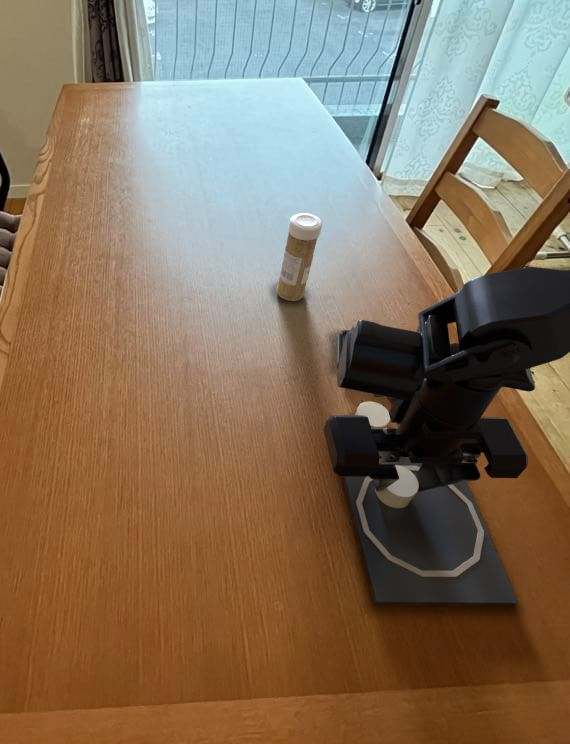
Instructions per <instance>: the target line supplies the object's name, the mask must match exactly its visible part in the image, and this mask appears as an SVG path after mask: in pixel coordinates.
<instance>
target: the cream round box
mask: <svg viewBox="0 0 570 744" xmlns="http://www.w3.org/2000/svg"><path fill="white" fill-rule="evenodd" d="M354 415H363V416H366V417H368V419H369V423H370V426H371V429H383V430H385V429H386V428H388V425H389V424H390V422H391V419H390V416H389V410H388V409H387V408H386V407H385V406H384V405H382V404H381V403H378V402H376V401H363V402H362V403H360V404H359V405H358V407H357V408H356V411H355V413H354Z"/></svg>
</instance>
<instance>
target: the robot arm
mask: <svg viewBox="0 0 570 744" xmlns="http://www.w3.org/2000/svg"><path fill="white" fill-rule="evenodd" d="M417 320H418V327H417V328H416V331H415V330H410V329H409V330H408V329H404V328H398V327H393V326H388V325H383V324H380V323H378V322H375V321H372V320H371V321H370V320H366V319H359V320H358V321H357V322H356V325H355V326H352V327H351V329H349V331H350V332H347V334H346V337H345V340H344V344H343V347H342V351H341V356H340V361H339V367H338V369H337V376H336V385H337V387H338V388H340V389H344V390H345V389H346V390H350V391H355V392H360V393H365V394H369V395H372V396H373V397H374V398H385V399H387V401H388V402H389V403H390V405H391V407H390V409H389V410H388V412H389V416H390V422H391V423H396V425H397V427H396V428H394V427H391V428H390V427H386V429H385V430H383V429H371V426H370V423H369V419H368V417H366V416H363V415H355V414H354V415H353V414H347V415H346V414H331V415H330V416H329V417H328V418H327V419H326V421H325V424H324V426H323V428H322V431H323V434H324V439H325V444H326V447H327V451H328V456H329V460H330V464H331V469H332V472H333V473H334V474H336V475H337V476H339V477H342V476H346V477H366V476H369V477H370V478H371V479H373V480H374V485H375V489H376V491H377V492H380V491H382V490H384V489H386V488H387V487H389V486H390V485H391V484H393V483H394V482H396V481H397V480H398V479H399V475H398V472H397V469H396V466H395V465H396V464H397V463H398V462H399V459H410V462H411V463H423V464H422V465H421V467H420V469H419V470H418V472H417V474H416V478H417V480H418V483H419V489H418V491H417V492H421V491H425V490H429V489H433V488H437V487H442V486H446V485H451V484H456V483H461V482H466V481H467V482H472V481H473V482H476V481H478V480H480V478H481V473H480V471H479V468H478V466H477V464H478V462H479V461H478V459H479V458H480V457H481V456H482V454H484V457H485V459H486V461H487V464H486V466H485V467H484V471H485V473H486V474H487V476H489V478H490V479H518V478H519V477H520V476H521V475H522V473H523V472H524V471H525V470H526V469H527V467H528V465H529V456H528V454H527V451H526V450H525V448H524V446H523V444H522V443H521V440H520V439H519V437H518V435H517V433H516V431H515V429H514V427H513V426H512V424H511V423H510V421H509V420H508V418H505V417H501V416H483V415H484V413H485V412H486V411H487V409H488V408H489V406H490V405H491V403H492V402H493V401H494V399H495V398H496V396H497V395H498V394H499V392H500V391H501V389H502V388H507V389H512V390H513V389H514V390H519V391H524V392H533V391H534V390H535V389H536V385H535V381H534V377H533V374H532V373H533V372H532V368H535V367H536V368H537V367H539V366H542V365H545V364H548V363H551V362H555V361H558V360H561V359H563V358H564V357H565V356H567V355H568V354H569V353H570V269H566V270H565V269H555V268H548V267H547V268H544V267H538V266H537V267H536V266H528V267H527V266H526V267H521V268H515V269H509V270H503V271H497V272H490V273H487V274H481V275H480V276H476V277H474V278H471V279H470V280H468V281H467V282H465V283H463V285H462V288H461V289H460V290H459V291H457V292H455V293H453V294H451V295H449V296H448V297H446V298H443V299H442V300H439V301H438V302H436V303H434V304H432V305H431V306H429V307H426V308H425V309H422V310H421V311H420V312H418V314H417ZM454 323H455V326H456V335H457V340H458V342H455V343H451V341H450V331H449V326H448V325H449V324H454Z"/></svg>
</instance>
